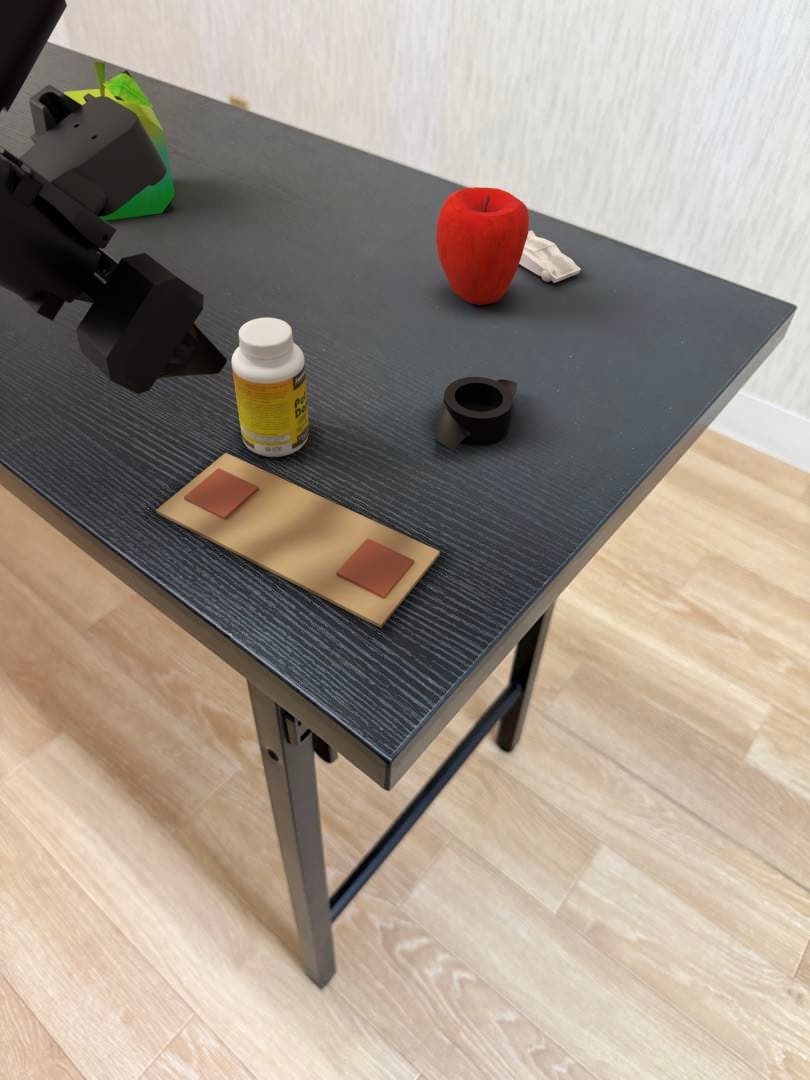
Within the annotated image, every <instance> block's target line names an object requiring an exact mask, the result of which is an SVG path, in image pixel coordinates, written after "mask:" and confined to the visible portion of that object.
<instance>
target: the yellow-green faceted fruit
mask: <svg viewBox="0 0 810 1080" xmlns="http://www.w3.org/2000/svg"><path fill="white" fill-rule="evenodd" d="M92 63H93V68H94V71H95V76H96V80H97V85H98V88H93V89H92V88H91V89H82V90H69V91H64V92H63V93H64V94H66V95H67V96H69V97H70V98H72V99H73V100H75V101H77V102H78V103H80V104H81V105H83V104H85V103H86V101H85V100H84V98H83V97H84V96H85V95H86V94H88V93H89V94H91V95H92V96H94V97H100V96H106V97H109V98H111V99H113V100H114V101H116V102H118V103H119V104H121V105H123V106H124V107H126V108H128V109H130V110H131V111H133V112H135V113H136V114H137V116H138V118H139V119H140V121H141V123H142V125H143V126H144V128H145V130H146V132H147V133H148V135H149V137H150V139H151V140H152V142H153V144H154V146H155V147H156V149H157V151H158V152H159V154H160V156H161V158H162V159H163V161H164V163H165V165H166V166H167V172H166V174H165V176H164V178H163V179H162V180H161V181H160V182H158V183H157V184H156V185H154V186H151V185H149V186H147V187H146V188H145V189H143V190H142V191H141V192H140V193H138V194H137V195H136V196H134V197H133V198H132V199H131V200H129V201H128V202H127V203H126V204H124V205H123V206H122V207H120V208H119V209H118V210H117V211H115V212H114V213H112V214H110V215H107V216H103V217H100V218H101V219H103V220H104V221H106V222H107V221H114V220H121V219H128V218H137V217H143V216H150V215H157V214H163V213H164V211H165V210H166V209H167V207H168V205H169V204H170V203H171V202H172V200H173V199H174V198H175V196H176V194H175V187H174V182H173V176H172V171H171V165H170V158H169V152H168V146H167V141H166V135H165V131H164V129H163V127H162V125H161V123H160V121H159V119H158V118H157V116H156V114H155V112H154V110H153V107H154V106H153V105H152V103H151V102H150V101H149V99H148V97H147V96H146V94H145V93H144V92H143V90H141V87H140V86H139V85H138V84H137V82H136V81H135V79H134V78H133V77H132V75H131V74H130V72H129V71H128V70H127V69H126V70H124V71H123V72H121V73H119V74H118V75H115V76H114V77H112V78H110V79H109V80H107V81H105V80H106V63H104V62H101V61H100V62H99V61H92Z"/></svg>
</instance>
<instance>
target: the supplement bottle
mask: <svg viewBox="0 0 810 1080" xmlns="http://www.w3.org/2000/svg"><path fill="white" fill-rule="evenodd" d="M238 340H239V346H238V347H237V348H236V349H235V350H234V352H233V353H232V355H231V356H232V357H231V369H232V377H233V383H234V390H235V397H236V405H237V412H238V419H239V427H240V434H241V439H242V442H243V443H244V445H245V447H247V449H248V450H249V451H251V452H252V453H254V454H257V455H259V456H263V457H268V458H279V457H285V456H288V455H291V454H294V453H295V452H298V451H299V450H300V449H302V447H304V445H305V444H306V442H307V441H308V439H309V434H310V430H309V429H310V428H309V426H310V425H309V409H308V395H307V394H308V392H307V391H308V390H307V381H306V380H307V376H306V362H305V354H304V352H303V350H302V349H301V348H300V347H299V345H298V344H296V343H295V342H294V341H295V340H294V338H293V330H292V327H291V325H290V324H289V323H288V322H286V321H284V320H282V319H279V318H276V317H259V318H254V319H250V320H249V321H247V322H245V323H243V325H242V326H240V327H239V330H238Z"/></svg>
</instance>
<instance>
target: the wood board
mask: <svg viewBox="0 0 810 1080" xmlns="http://www.w3.org/2000/svg"><path fill="white" fill-rule="evenodd" d="M155 511H156V514H157V515H159V516H161V517H163V518H164V519H167V520H169V521H170V522H173V523H175V524H177V525H179V526H180V527H182V528H184V529H186V530H188V531H190V532H192V533H194V534H195V535H198V536H200V537H202V538H204V539H205V540H208V541H209V542H212V543H214V544H215V545H216V546H217V545H218V546H219V547H222V548H223V549H226V550H228V551H229V552H231V553H233V554H235V555H237V556H239V557H241V558H243V559H244V560H247V561H249V562H251V563H253V564H254V565H256V566H259V567H260V568H262V569H264V570H266V571H269V572H270V573H271V574H274V575H276V576H278V577H279V578H281V579H283V580H286V581H287V582H289V583H291V584H293V585H296V586H297V587H299V588H301V589H303V590H306V591H307V592H308V593H311V594H313V595H315V596H316V597H319V598H321V599H323V600H325V601H327V602H329V603H330V604H333V605H334V606H336V607H339V608H341V609H343V610H344V611H346V612H348V613H350V614H352V615H354V616H356V617H358V618H360V619H362V620H364V621H365V622H367V623H370V624H372V625H373V626H375V627H377V628H380V629H382V628H383V627H384V626H385V624H386V623H387V622H388V621H389V619H390V618H391V617H392V616H393V614H394V613H395V612H396V611H397V609H398V608H399V607H400V605H401V604H402V603H403V601H404V600H405V599H406V598H407V596H408V595H409V594H410V593H411V591H412V590H413V589H414V588H415V587H416V585H417V584H418V583H419V581H420V580H421V579H422V578H423V577H424V575H425V574H426V573H427V572H428V571H429V569H430V568H431V566H432V565H433V564H434V563H435V562H436V561H437V559H438V558H439V557H440V556H441V551H440V550H438V549H436V548H433V547H432V546H430V545H426V544H425V543H422V542H421V541H418V540H416V539H414V538H411V537H410V536H407V535H405V534H403V533H401V532H399V531H396V530H395V529H392V528H390V527H388V526H386V525H383V524H382V523H379V522H377V521H376V520H373V519H370V518H368V517H366V516H364V515H362V514H360V513H357V512H356V511H353V510H351V509H349V508H347V507H345V506H342V505H340V504H338V503H336V502H333V501H332V500H330V499H328V498H325V497H323V496H321V495H318V494H316V493H314V492H312V491H310V490H308V489H305V488H303V487H301V486H299V485H297V484H295V483H292V482H290V481H288V480H286V479H284V478H282V477H279V476H277V475H276V474H273V473H271V472H270V471H266V470H264V469H262V468H259V467H258V466H256V465H253V464H252V463H250V462H247V461H244V460H243V459H241V458H238V457H236V456H234V455H232V454H230V453H227V452H224V453H223V454H222V455H221V456H220V457H218V458H217V459H215V461H214V462H212V463H211V464H210V465H209V466H207V467H206V468H205V469H204V470H203V471H201V472H200V473H199V474H198V475H197V476H195V477H194V478H193V479H192V480H191V481H189V482H188V483H187V484H186V485H184V486H183V487H182V488H181V489H179V491H177V492H176V493H175V494H174V495H172V496H171V497H170V498H169V499H168V500H166V501H165V502H164V503H162V504H161V505H160V506H159V507H158V508H156V509H155Z"/></svg>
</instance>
